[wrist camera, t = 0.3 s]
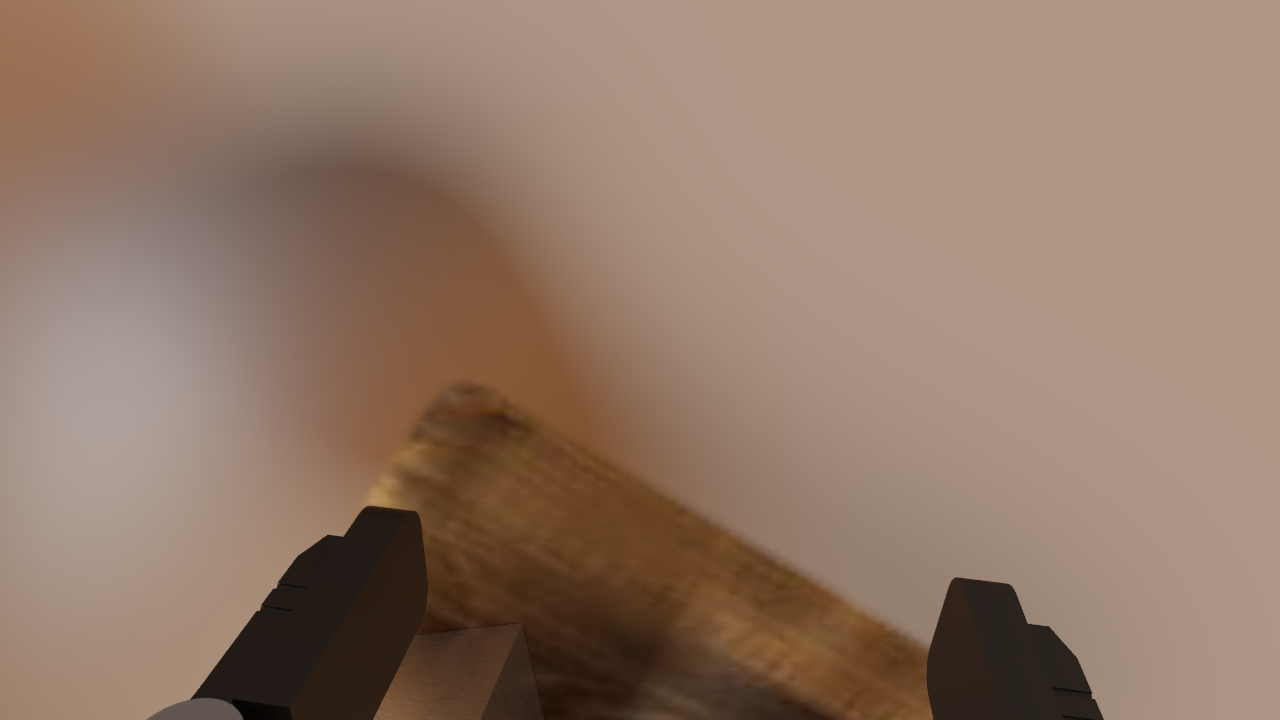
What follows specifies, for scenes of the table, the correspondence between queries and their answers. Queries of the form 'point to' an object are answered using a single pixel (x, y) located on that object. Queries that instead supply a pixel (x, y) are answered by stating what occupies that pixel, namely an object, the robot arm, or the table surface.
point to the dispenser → (465, 677)
